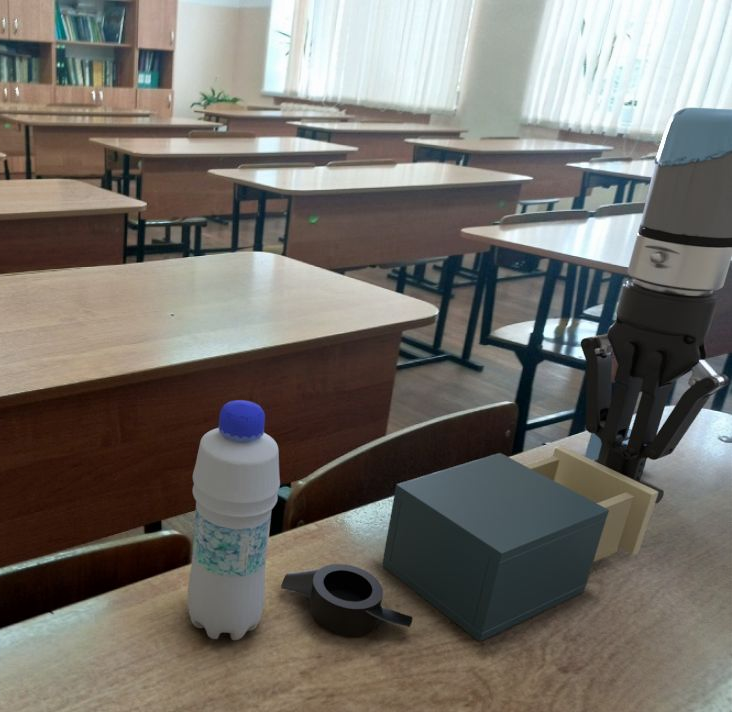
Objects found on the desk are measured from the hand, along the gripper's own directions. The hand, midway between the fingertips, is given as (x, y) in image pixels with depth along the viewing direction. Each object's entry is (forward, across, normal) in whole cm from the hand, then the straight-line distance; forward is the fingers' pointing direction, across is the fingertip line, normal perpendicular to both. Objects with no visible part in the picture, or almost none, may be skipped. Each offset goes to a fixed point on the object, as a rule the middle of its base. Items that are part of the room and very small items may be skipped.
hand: (608, 505), depth 76 cm
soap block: (+3, -8, +15) cm, 17 cm away
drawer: (+2, 0, -6) cm, 6 cm away
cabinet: (+3, 0, -18) cm, 19 cm away
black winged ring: (+3, -2, -34) cm, 34 cm away
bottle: (+3, -6, -43) cm, 44 cm away
